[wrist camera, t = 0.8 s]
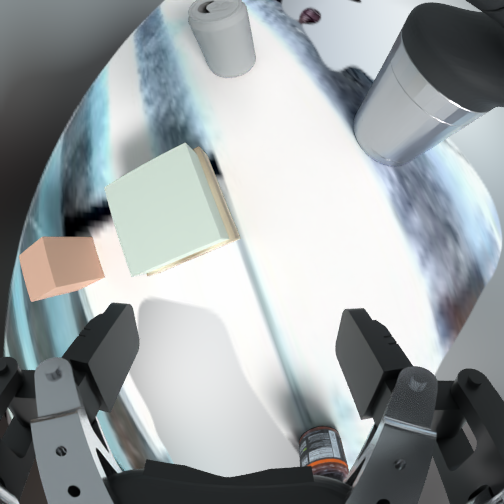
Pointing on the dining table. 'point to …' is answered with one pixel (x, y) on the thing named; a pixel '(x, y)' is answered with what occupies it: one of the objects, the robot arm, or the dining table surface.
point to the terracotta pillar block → (60, 266)
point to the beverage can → (223, 35)
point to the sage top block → (164, 211)
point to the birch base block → (221, 207)
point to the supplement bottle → (323, 453)
